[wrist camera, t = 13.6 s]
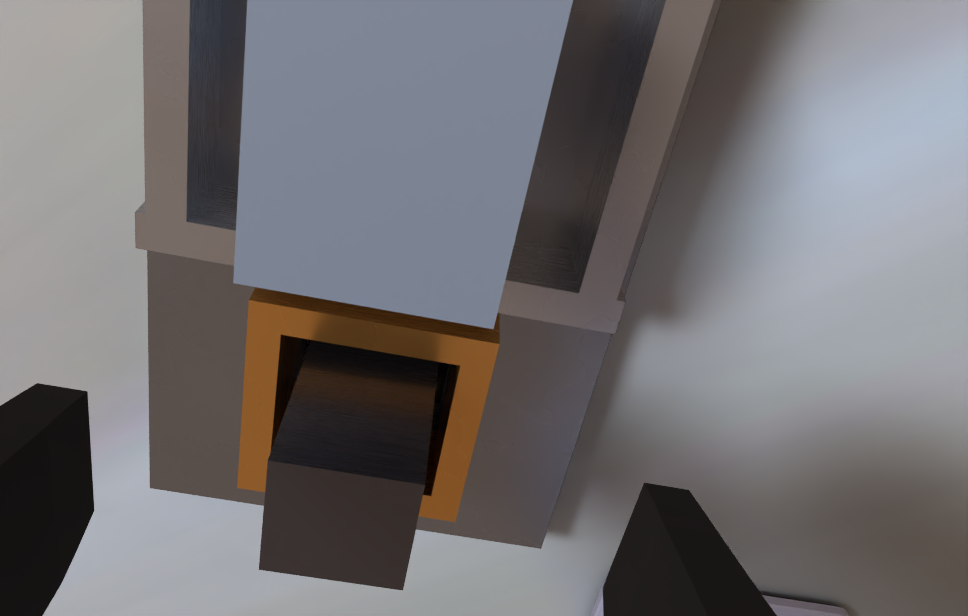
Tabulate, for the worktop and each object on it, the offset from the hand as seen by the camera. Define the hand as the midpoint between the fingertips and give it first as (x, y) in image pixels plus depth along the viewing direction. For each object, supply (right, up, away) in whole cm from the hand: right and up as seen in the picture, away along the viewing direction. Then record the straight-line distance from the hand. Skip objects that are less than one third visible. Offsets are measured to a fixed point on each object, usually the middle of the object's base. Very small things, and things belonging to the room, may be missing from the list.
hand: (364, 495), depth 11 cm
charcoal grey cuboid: (-1, +2, +11) cm, 11 cm away
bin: (-1, +4, +9) cm, 10 cm away
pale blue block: (0, +8, +6) cm, 10 cm away
